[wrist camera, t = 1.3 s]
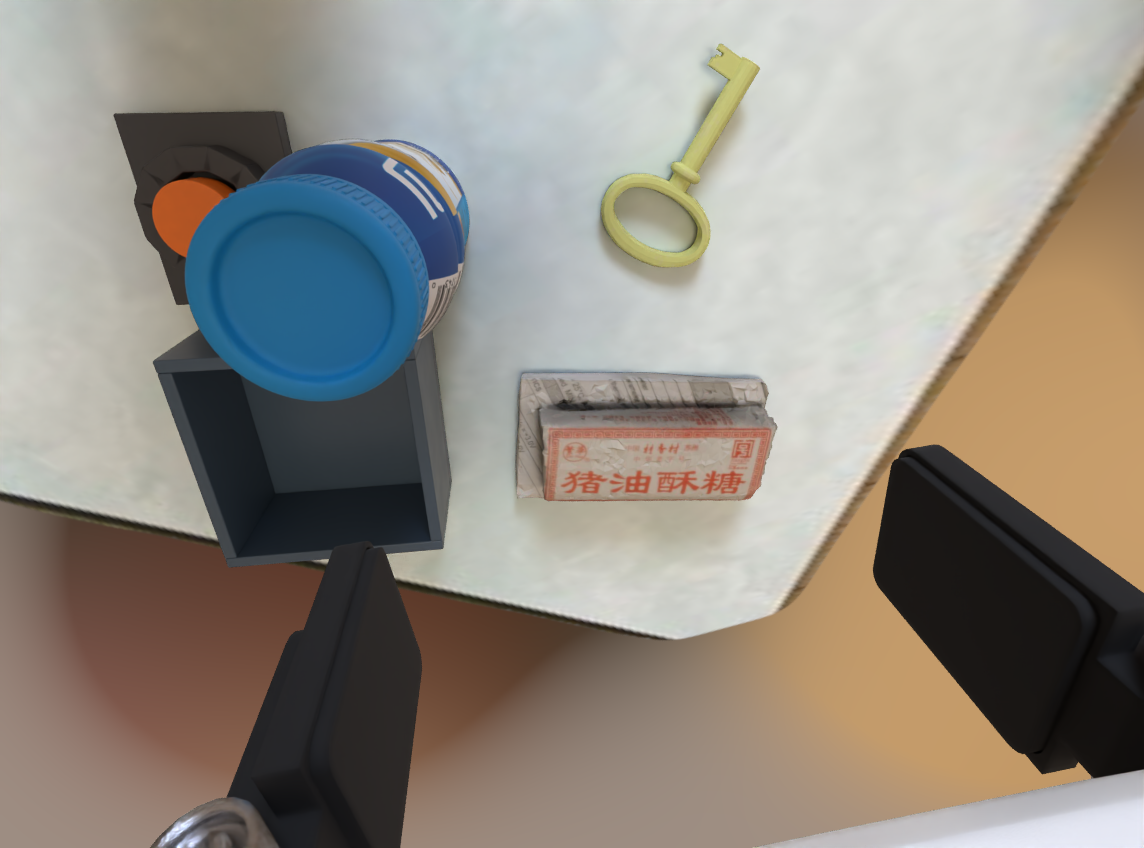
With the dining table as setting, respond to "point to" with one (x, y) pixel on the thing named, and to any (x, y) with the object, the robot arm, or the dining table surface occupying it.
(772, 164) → the dining table surface
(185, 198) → the call button
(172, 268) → the box
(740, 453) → the packaged product
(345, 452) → the blue box
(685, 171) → the key
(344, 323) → the beverage bottle
